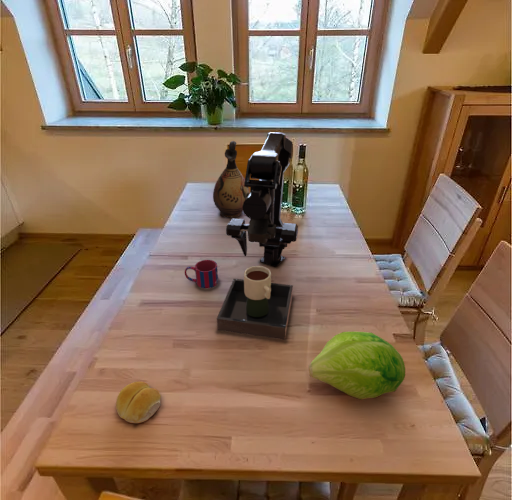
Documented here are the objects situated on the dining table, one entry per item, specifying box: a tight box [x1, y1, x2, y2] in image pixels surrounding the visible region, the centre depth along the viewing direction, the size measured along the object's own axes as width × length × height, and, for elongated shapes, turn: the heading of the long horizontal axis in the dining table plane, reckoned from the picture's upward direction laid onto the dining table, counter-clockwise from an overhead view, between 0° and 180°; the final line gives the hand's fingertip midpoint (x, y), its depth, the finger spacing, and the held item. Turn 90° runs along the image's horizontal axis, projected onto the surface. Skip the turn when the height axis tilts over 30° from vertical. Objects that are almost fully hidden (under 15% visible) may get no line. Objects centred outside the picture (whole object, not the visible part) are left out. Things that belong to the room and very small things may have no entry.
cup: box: [184, 259, 219, 289], centre depth 109 cm, size 7×10×7 cm
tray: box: [216, 278, 294, 340], centre depth 97 cm, size 18×18×5 cm
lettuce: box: [308, 331, 406, 401], centre depth 75 cm, size 15×20×14 cm
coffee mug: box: [243, 265, 272, 317], centre depth 95 cm, size 11×7×13 cm, turn 34°
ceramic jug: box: [212, 140, 250, 219], centre depth 146 cm, size 17×15×30 cm
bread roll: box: [115, 380, 162, 424], centre depth 73 cm, size 8×9×4 cm
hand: (261, 257), depth 98 cm, fingers open, 9 cm apart
